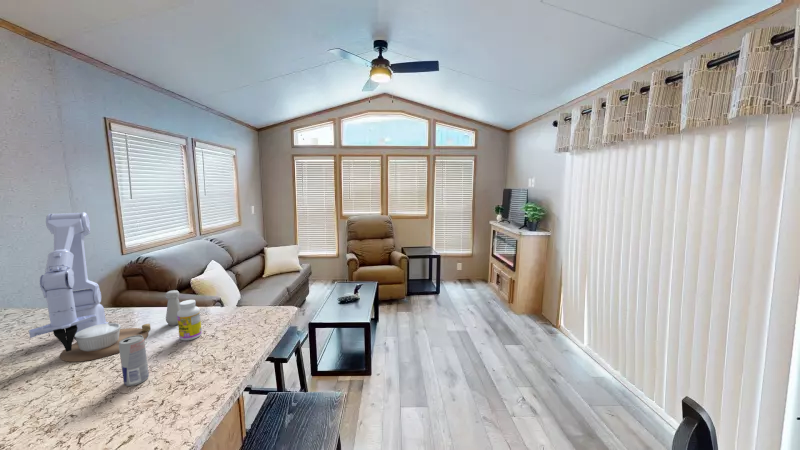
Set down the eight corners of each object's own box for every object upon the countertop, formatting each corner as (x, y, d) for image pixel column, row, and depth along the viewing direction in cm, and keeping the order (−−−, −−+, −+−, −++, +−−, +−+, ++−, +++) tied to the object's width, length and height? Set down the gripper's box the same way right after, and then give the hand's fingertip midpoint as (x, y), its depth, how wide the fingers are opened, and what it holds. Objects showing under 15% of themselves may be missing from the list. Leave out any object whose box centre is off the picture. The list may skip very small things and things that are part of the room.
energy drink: (133, 375, 90) (128, 335, 89) (153, 374, 91) (148, 334, 89) (118, 387, 85) (112, 344, 84) (140, 385, 86) (134, 343, 84)
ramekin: (129, 339, 110) (128, 325, 110) (89, 356, 100) (87, 340, 99) (109, 334, 114) (107, 320, 113) (68, 350, 104) (66, 334, 103)
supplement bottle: (175, 339, 111) (171, 304, 109) (193, 331, 117) (190, 297, 115) (188, 342, 109) (184, 306, 107) (206, 334, 115) (203, 299, 113)
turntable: (94, 331, 117) (93, 325, 117) (161, 326, 121) (160, 320, 121) (38, 365, 96) (37, 358, 96) (121, 357, 100) (120, 350, 99)
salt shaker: (175, 327, 120) (171, 294, 119) (162, 326, 121) (158, 293, 120) (188, 320, 126) (184, 289, 124) (176, 319, 127) (172, 288, 125)
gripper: (27, 320, 91) (34, 364, 93) (95, 305, 103) (101, 344, 104) (26, 314, 96) (33, 356, 98) (92, 300, 107) (97, 338, 109)
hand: (68, 350), depth 101 cm, fingers closed
